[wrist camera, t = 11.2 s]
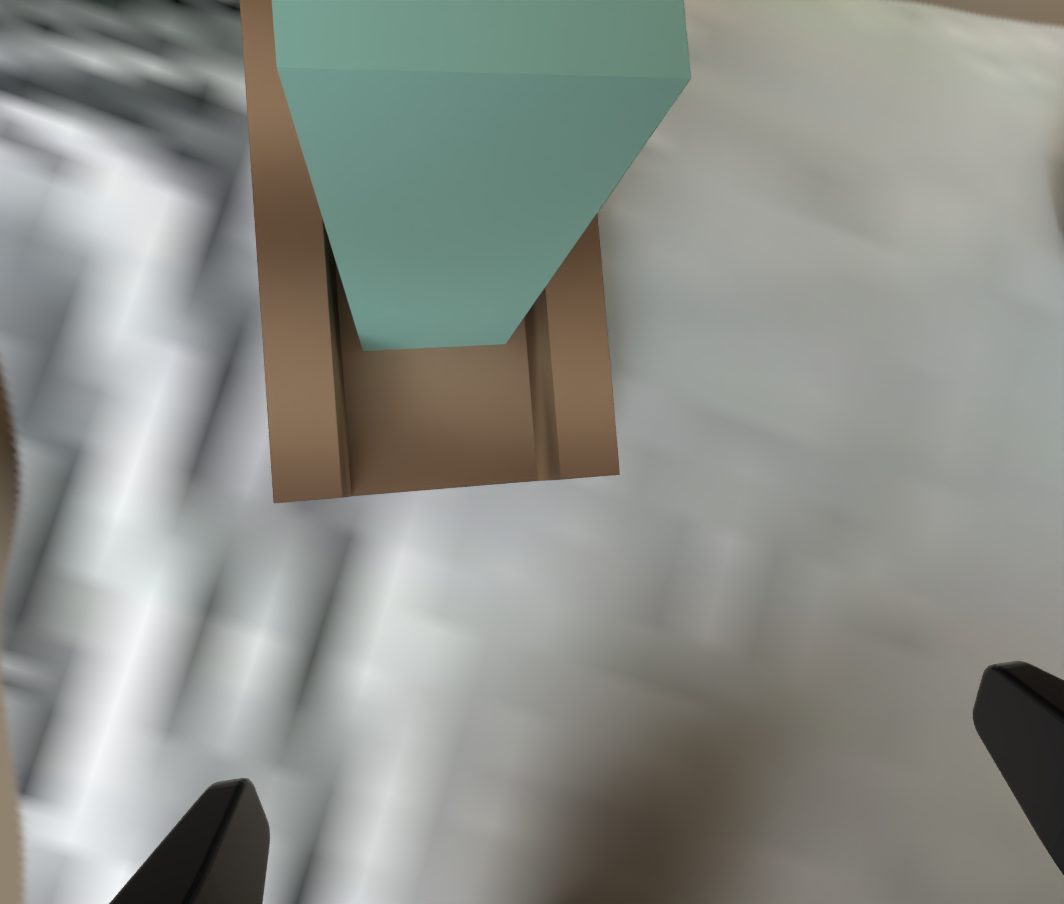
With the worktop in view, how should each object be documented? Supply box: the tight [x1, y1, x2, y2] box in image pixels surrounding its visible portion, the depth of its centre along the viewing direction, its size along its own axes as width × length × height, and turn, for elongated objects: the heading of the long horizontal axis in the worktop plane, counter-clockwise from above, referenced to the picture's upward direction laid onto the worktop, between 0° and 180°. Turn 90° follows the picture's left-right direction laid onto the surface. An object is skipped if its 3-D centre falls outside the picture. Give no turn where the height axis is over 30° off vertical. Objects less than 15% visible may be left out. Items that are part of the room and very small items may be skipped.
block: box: [272, 0, 691, 351], centre depth 13 cm, size 4×4×13 cm
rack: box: [240, 0, 620, 503], centre depth 18 cm, size 12×8×4 cm
